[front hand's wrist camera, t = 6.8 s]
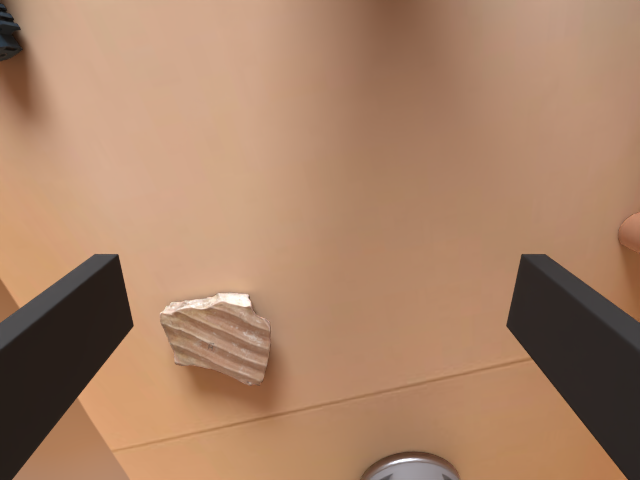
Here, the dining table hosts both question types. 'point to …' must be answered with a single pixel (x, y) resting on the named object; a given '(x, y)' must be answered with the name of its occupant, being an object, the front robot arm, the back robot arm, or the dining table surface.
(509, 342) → the dining table surface
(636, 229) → the tall tan cylinder
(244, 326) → the stone
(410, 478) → the front robot arm
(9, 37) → the handgun
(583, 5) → the dining table surface
